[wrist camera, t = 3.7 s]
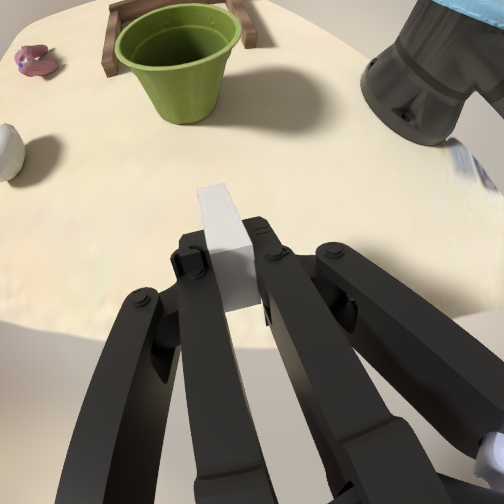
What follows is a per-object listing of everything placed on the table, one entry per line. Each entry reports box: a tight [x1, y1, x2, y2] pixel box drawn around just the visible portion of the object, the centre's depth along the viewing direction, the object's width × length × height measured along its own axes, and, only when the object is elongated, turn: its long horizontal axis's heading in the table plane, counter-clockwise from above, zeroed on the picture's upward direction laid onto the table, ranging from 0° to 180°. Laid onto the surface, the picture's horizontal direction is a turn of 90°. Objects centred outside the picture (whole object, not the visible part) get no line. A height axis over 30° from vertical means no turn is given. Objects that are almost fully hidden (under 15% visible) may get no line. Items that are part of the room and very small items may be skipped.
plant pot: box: [115, 3, 242, 124], centre depth 26 cm, size 12×12×11 cm
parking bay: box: [101, 0, 257, 78], centre depth 33 cm, size 17×21×5 cm
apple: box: [0, 123, 26, 182], centre depth 26 cm, size 8×8×7 cm
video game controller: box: [14, 45, 58, 77], centre depth 30 cm, size 10×5×7 cm, turn 40°
